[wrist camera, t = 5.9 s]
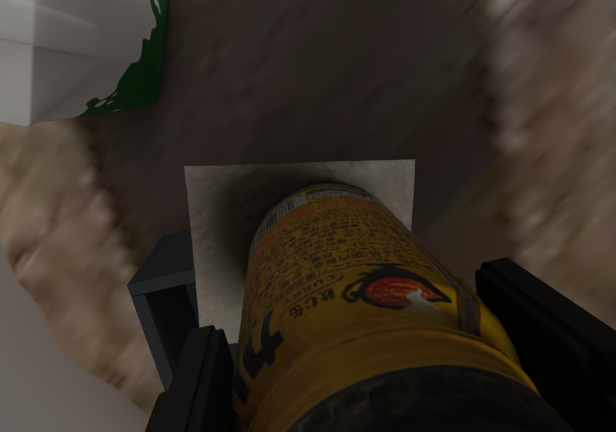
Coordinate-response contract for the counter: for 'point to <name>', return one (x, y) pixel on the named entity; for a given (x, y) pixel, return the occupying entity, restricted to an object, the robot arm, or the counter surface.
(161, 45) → the milk carton
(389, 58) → the counter surface
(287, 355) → the condiment
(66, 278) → the counter surface
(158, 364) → the dark grey open box
